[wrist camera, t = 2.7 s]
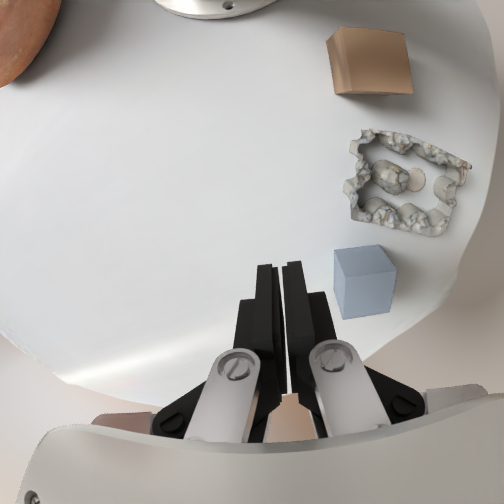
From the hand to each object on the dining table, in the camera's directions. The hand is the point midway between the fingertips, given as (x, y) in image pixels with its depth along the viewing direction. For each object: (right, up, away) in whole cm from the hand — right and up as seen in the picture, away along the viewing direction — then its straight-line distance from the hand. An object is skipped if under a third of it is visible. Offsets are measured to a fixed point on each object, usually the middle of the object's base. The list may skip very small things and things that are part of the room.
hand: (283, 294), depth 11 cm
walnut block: (+7, +16, +5) cm, 18 cm away
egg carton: (+11, +8, +10) cm, 17 cm away
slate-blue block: (+9, 0, +14) cm, 17 cm away
